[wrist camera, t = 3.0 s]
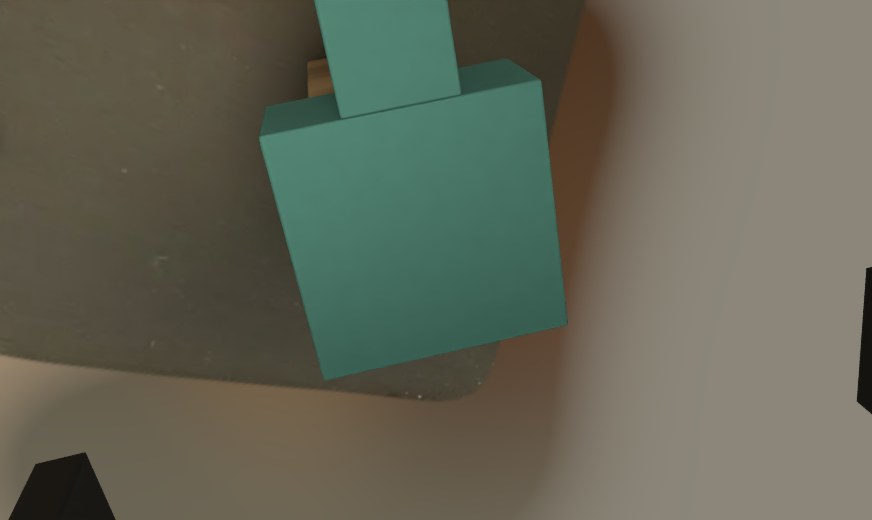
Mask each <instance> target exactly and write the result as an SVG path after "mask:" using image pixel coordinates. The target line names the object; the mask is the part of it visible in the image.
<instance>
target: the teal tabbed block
mask: <svg viewBox="0 0 872 520" xmlns="http://www.w3.org/2000/svg"><path fill="white" fill-rule="evenodd" d="M314 3H315V8H316V12H317V17H318V21H319V26H320V30H321V35H322V39H323V44H324V48H325V53H326V57H327V62H328V66H329V71H330V75H331V80H332V84H333V89H334V93H330V94H325V95H320V96H315V97H310V98H305V99H300V100H295V101H290V102H285V103H280V104H275V105H270V106H267V107H265V112H264V116H263V121H262V126H261V130H260V135H259V142H260V146H261V150H262V153H263V157H264V161H265V165H266V168H267V172H268V176H269V179H270V183H271V187H272V190H273V194H274V198H275V202H276V205H277V209H278V213H279V216H280V220H281V224H282V228H283V231H284V235H285V239H286V242H287V246H288V250H289V253H290V257H291V261H292V265H293V268H294V272H295V276H296V279H297V283H298V287H299V290H300V294H301V298H302V302H303V305H304V309H305V313H306V316H307V320H308V324H309V327H310V331H311V335H312V339H313V342H314V346H315V350H316V353H317V357H318V361H319V365H320V368H321V372H322V376H323V378H324V380H329V379H334V378H338V377H342V376H347V375H351V374H355V373H360V372H364V371H369V370H373V369H377V368H382V367H386V366H391V365H395V364H399V363H404V362H408V361H412V360H417V359H421V358H426V357H430V356H434V355H439V354H443V353H448V352H452V351H456V350H461V349H465V348H469V347H474V346H478V345H483V344H487V343H491V342H496V341H500V340H504V339H509V338H513V337H517V336H522V335H526V334H531V333H535V332H540V331H544V330H548V329H552V328H557V327H561V326H566V325H567V323H568V321H567V311H566V302H565V293H564V284H563V276H562V266H561V257H560V247H559V238H558V229H557V220H556V211H555V203H554V192H553V184H552V175H551V166H550V156H549V147H548V138H547V129H546V119H545V110H544V101H543V92H542V83H541V80H540V79H538V78H537V77H535V76H534V75H532V74H531V73H529V72H527V71H526V70H524V69H523V68H521V67H520V66H518V65H517V64H515V63H514V62H512V61H510V60H509V59H507V58H505V59H500V60H495V61H490V62H485V63H480V64H475V65H470V66H465V67H460V68H458V67H457V61H456V54H455V48H454V41H453V35H452V28H451V22H450V15H449V9H448V2H447V0H314Z"/></svg>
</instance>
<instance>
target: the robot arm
mask: <svg viewBox="0 0 872 520" xmlns="http://www.w3.org/2000/svg"><path fill="white" fill-rule="evenodd" d="M857 402H858V403H859V404H861V405H862V406H863V407H864V408H865V409H866V410H868V411H869V412H870V413H871V414H872V267H870V268H866V283H865V295H864V309H863V323H862V337H861V350H860V364H859V378H858V393H857ZM9 520H115V517H114V515H113V513H112V511H111V508H110V506H109V504H108V502H107V499H106V497H105V495H104V493H103V490H102V488H101V486H100V484H99V482H98V479H97V477H96V475H95V473H94V470H93V468H92V466H91V464H90V461H89V459H88V457H87V455H86V453H80V454H76V455H72V456H68V457H64V458H59V459H55V460H51V461H47V462H42V463H39V464H36V465H35V466H34V469H33V471H32V473H31V475H30V477H29V479H28V481H27V483H26V485H25V487H24V489H23V491H22V493H21V495H20V497H19V499H18V501H17V503H16V505H15V507H14V510H13V512H12V514H11V516H10V518H9Z"/></svg>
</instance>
